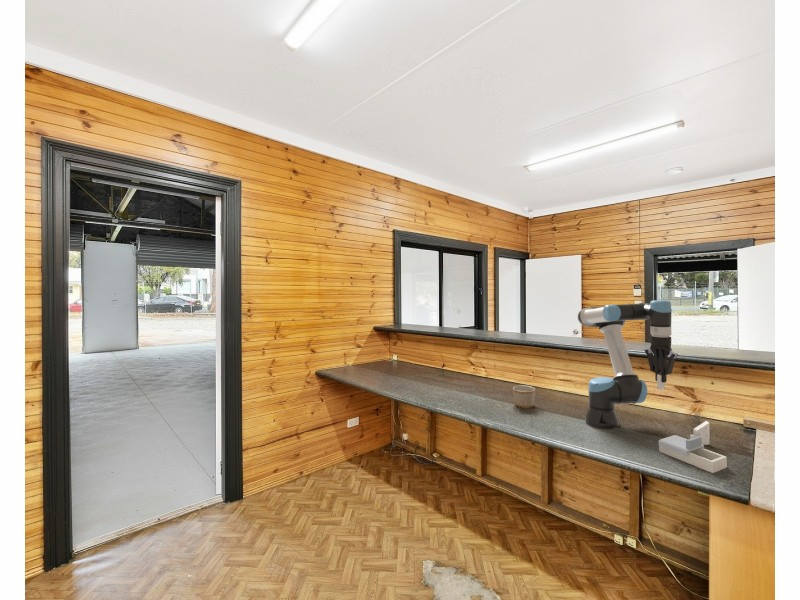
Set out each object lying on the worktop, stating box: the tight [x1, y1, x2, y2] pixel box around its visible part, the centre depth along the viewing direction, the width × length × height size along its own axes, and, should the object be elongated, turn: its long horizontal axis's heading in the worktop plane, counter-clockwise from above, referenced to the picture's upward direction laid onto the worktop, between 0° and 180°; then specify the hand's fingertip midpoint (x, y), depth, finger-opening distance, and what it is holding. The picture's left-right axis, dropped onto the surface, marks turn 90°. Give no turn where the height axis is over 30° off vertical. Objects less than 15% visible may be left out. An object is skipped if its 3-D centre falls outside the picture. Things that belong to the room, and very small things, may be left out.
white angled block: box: [689, 420, 710, 446], centre depth 165 cm, size 4×10×9 cm
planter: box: [512, 384, 536, 409], centre depth 222 cm, size 13×13×10 cm
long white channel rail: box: [658, 444, 728, 474], centre depth 152 cm, size 20×9×4 cm, turn 22°
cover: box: [658, 434, 705, 456], centre depth 155 cm, size 11×11×6 cm
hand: (660, 388), depth 161 cm, fingers closed
